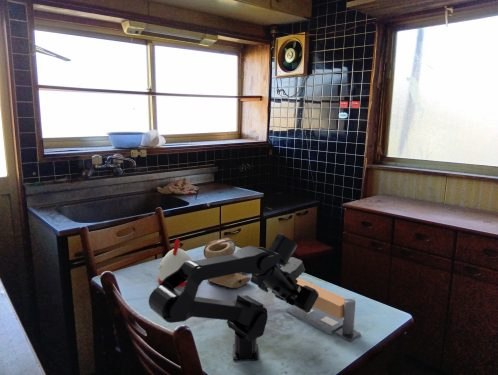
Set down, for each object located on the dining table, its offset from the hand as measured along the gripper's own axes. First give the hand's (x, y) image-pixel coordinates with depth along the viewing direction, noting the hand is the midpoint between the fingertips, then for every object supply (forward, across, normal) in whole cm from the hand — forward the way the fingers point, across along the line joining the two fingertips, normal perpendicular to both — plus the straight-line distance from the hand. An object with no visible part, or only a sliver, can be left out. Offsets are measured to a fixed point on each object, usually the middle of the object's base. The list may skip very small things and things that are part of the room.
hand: (299, 302), depth 111 cm
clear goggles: (+15, +56, -4) cm, 58 cm away
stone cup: (+5, +36, +5) cm, 37 cm away
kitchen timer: (-3, +50, +13) cm, 52 cm away
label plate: (+10, -1, 0) cm, 10 cm away
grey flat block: (+10, -12, 0) cm, 16 cm away
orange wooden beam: (+9, -2, 0) cm, 9 cm away
